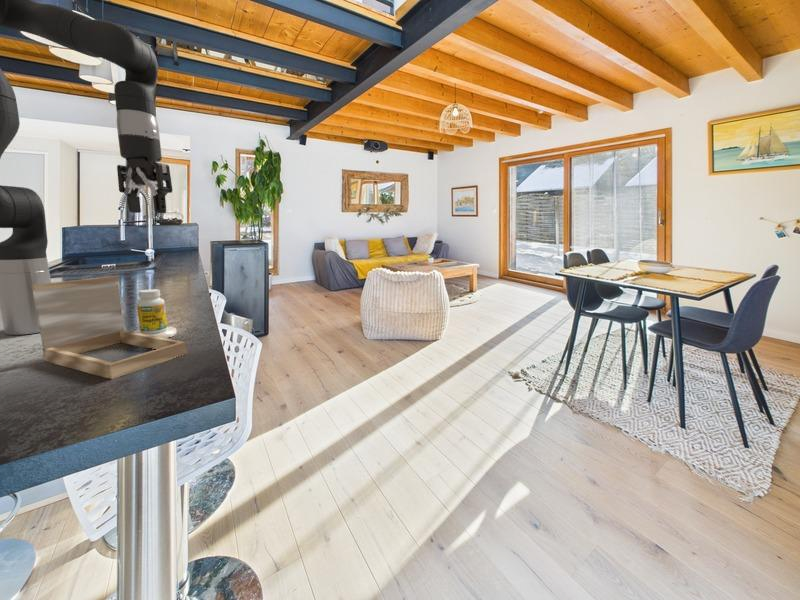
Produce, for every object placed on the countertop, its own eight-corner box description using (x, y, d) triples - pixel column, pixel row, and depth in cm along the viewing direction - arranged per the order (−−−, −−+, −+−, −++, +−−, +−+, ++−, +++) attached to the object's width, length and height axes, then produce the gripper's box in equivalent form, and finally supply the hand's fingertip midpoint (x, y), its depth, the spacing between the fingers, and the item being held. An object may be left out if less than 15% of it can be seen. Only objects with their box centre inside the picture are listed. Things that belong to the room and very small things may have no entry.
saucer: (121, 339, 84) (120, 334, 83) (159, 329, 92) (159, 324, 91) (148, 344, 80) (147, 339, 80) (185, 333, 88) (185, 329, 88)
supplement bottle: (167, 326, 90) (163, 287, 88) (168, 332, 85) (164, 291, 83) (140, 329, 87) (135, 289, 85) (139, 335, 82) (134, 293, 80)
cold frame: (44, 361, 70) (31, 285, 67) (123, 340, 83) (114, 276, 80) (112, 379, 62) (100, 295, 60) (187, 353, 75) (180, 283, 72)
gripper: (99, 135, 80) (109, 212, 83) (143, 130, 75) (152, 212, 78) (135, 142, 87) (143, 213, 90) (178, 138, 81) (185, 213, 85)
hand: (147, 212), depth 84 cm, fingers open, 8 cm apart
